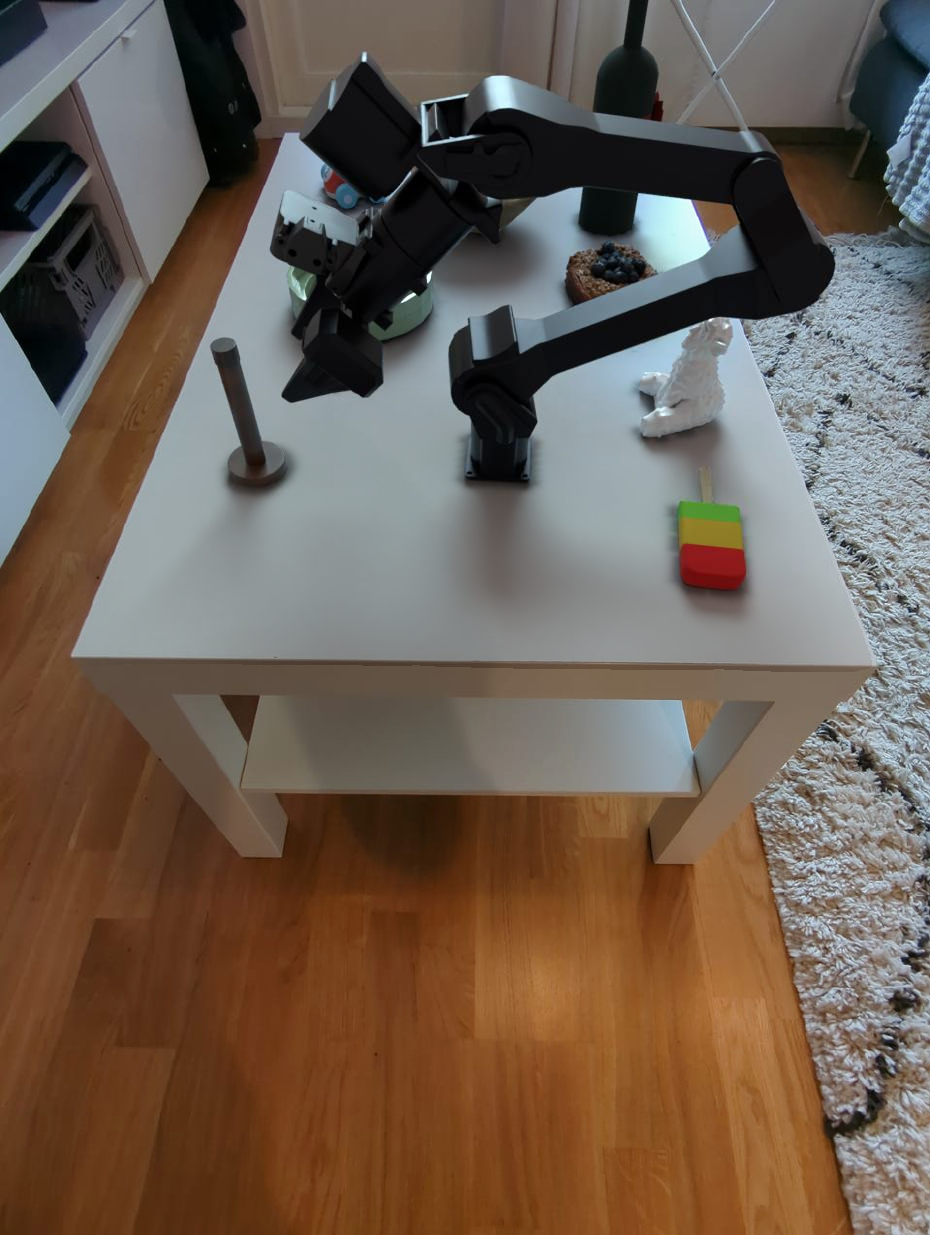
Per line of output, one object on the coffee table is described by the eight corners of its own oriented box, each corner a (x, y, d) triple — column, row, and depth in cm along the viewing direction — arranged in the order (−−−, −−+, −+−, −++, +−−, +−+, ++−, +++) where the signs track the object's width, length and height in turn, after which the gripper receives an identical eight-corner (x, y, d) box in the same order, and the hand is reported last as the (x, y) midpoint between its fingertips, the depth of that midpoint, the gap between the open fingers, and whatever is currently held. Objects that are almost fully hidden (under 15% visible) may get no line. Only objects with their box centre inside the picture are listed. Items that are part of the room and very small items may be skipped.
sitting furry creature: (636, 383, 84) (659, 280, 74) (715, 389, 83) (748, 286, 73) (639, 438, 78) (664, 335, 68) (723, 445, 77) (760, 342, 68)
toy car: (317, 185, 112) (306, 109, 104) (373, 175, 114) (366, 100, 106) (335, 212, 107) (324, 135, 99) (393, 201, 109) (387, 124, 101)
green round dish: (425, 350, 87) (423, 314, 84) (280, 343, 88) (272, 308, 84) (439, 272, 98) (438, 238, 94) (309, 267, 98) (303, 233, 95)
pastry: (631, 268, 98) (639, 223, 94) (675, 317, 92) (686, 270, 87) (554, 282, 96) (558, 236, 92) (592, 333, 89) (600, 286, 85)
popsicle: (679, 586, 66) (684, 573, 65) (674, 471, 75) (679, 457, 74) (742, 593, 66) (749, 580, 64) (730, 477, 75) (736, 462, 73)
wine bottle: (654, 235, 103) (712, -49, 79) (581, 236, 103) (617, -48, 79) (644, 208, 108) (696, -68, 84) (574, 209, 108) (606, -67, 84)
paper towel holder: (280, 489, 73) (247, 365, 62) (224, 486, 74) (181, 362, 62) (292, 451, 77) (262, 327, 65) (238, 448, 77) (200, 324, 66)
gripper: (331, 106, 58) (224, 250, 67) (314, 223, 47) (188, 377, 56) (434, 209, 65) (325, 327, 73) (441, 332, 54) (311, 455, 62)
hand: (290, 366), depth 66 cm, fingers open, 9 cm apart
